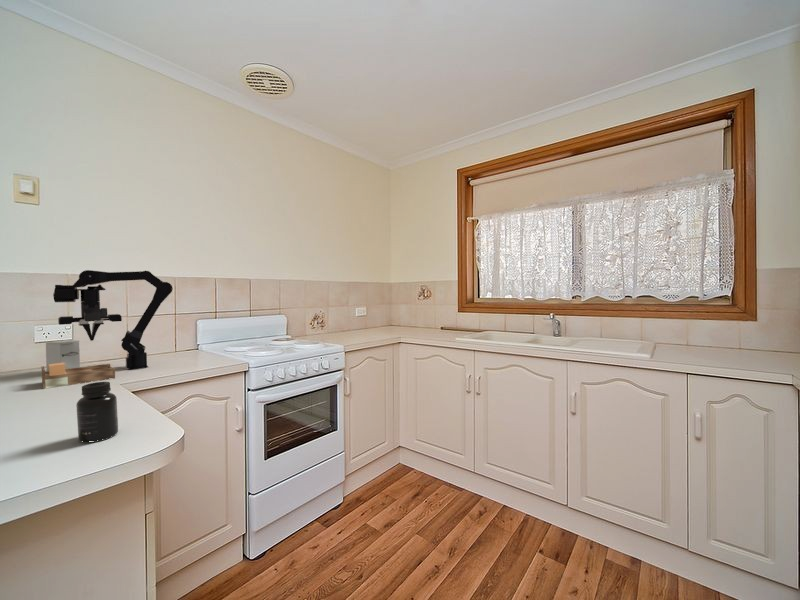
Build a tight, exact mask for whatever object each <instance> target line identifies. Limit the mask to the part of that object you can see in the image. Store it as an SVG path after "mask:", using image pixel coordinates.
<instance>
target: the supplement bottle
mask: <svg viewBox="0 0 800 600" xmlns="http://www.w3.org/2000/svg"><path fill="white" fill-rule="evenodd" d="M111 391H112V388H111V382H109V381H95V382H89V383H87V384H84V385H81V396H82V397H81V398H79V399H78V400H77V402H76V420H77V438H78V441H79V442H80V441H83V442H89V441H97V440H102V439H105V440H107V439H106V438H108V439H110V438H109V437H111V436H113V437H114V436H116V435H117V434H118V432H119V417H118V401H117V396H116V394H114V393H112V392H111ZM115 434H116V435H115ZM111 438H112V437H111ZM102 441H103V440H102Z"/></svg>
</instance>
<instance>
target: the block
mask: <svg viewBox="0 0 800 600" xmlns="http://www.w3.org/2000/svg"><path fill="white" fill-rule="evenodd" d="M61 374H65V363H56V364H49V376H53V375H61Z"/></svg>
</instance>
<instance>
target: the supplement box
mask: <svg viewBox="0 0 800 600" xmlns="http://www.w3.org/2000/svg"><path fill="white" fill-rule="evenodd" d="M80 354H81V353H80V340H76V339H72V340H69V339H67V340H59V341H58V340H56V341H47V342H45V358H46V359H45V362H46V366H45V367H46V372H47V371H49V364H56V363H65V369H71V368H79V367H81V359H80V357H81V356H80Z"/></svg>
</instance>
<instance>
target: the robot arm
mask: <svg viewBox="0 0 800 600" xmlns="http://www.w3.org/2000/svg"><path fill="white" fill-rule="evenodd" d="M143 280H144V281H146V283H147V282H148V283H149V284H150V285H152V286H153V287H154V288H155V291H154V293H153V297H152V299H151V301H150V303H149V304H148V306H147V307H146V309H145V311H144V312H143V314H142V315H141V317H140V319H139V320H138V322H137V324H136V326H135V327H134V328H133V329H132V330H131V331H130V330H126V332H125V335H124V337H123V338H122V339H121V341H120V342H121V348H122V349H123V350H124V351H126V352H127V353H126V354H127V355H126V356H127V357H125V368H127V369H128V370H131V371H132V370H138V369H146V368H149V365H148V359H147V357H148V356H147V354H148V353H147V352H146V345H144V344H143V343H141V340H142V338H143V335H144V332H145V330H146V329H147V327H148V325H149V324H150V322H151V320H152V319H153V317H154V316H155V314H156V312H157V311H158V310H159V307H160V306H161V304H162V303H163V302H164V301H165V300H166V299H167V298H168V296H169V295H170V294H171V293H172V292H173V285H172V284H171V283H170V282H168V281H163V280H162V279H160V278H159V277H157V276H156V275H154V274H153V273H152V272H151V271H149V270H143V271H141V270H140V271H138V270H137V271H113V272H109V271H99V270H90V269H86V270H83V271H81V272H79V275H78V279H77V280H76V281H75V282H74V284H72V285H70V284H69V285H66V284H63V285H62V284H54V291H53V300H54V303H75V302H76V300H80V314H81V315H80V316H81V317H80V316H79V317H73V315H71V316H67V315H66V316H64V315H63V316H59V317H58V319H57V320H58V321H57V322H58V325H72V323H78V326H80V327H81V326H82V328H83V329H84V331H85V332H86V335H87V336H88V338H89V340H90V341H91V342H92V341H94V339H95V336H96V335H97V331H98V330H99V328H100V327H101V325H105V321H110V322H113V323H114V322H123V321H122V320H123V319H122V315H121V314H118V313H116V314H113V313H112V314H110V313H109V314H108V308H107V307H102V308H101V302H100V301H101V300H100V299H101V298H100V297H101V296H100V292H101V291H107V288H105V287H103V285H101V284H104V283H111V282H123V281H124V282H125V281H126V282H127V281H143ZM94 285H95V286H94ZM96 285H97V286H96ZM85 287H87V288H85ZM90 322H92V328H91V325H90V324H91V323H90ZM91 329H92V330H91Z"/></svg>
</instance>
